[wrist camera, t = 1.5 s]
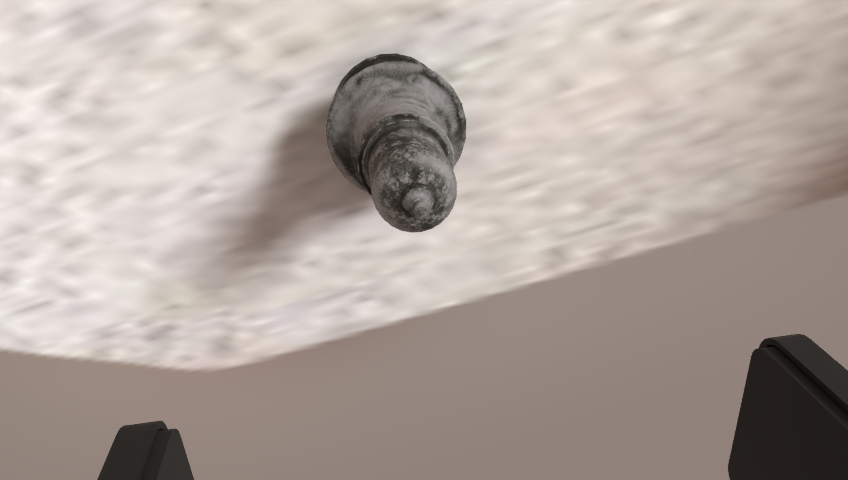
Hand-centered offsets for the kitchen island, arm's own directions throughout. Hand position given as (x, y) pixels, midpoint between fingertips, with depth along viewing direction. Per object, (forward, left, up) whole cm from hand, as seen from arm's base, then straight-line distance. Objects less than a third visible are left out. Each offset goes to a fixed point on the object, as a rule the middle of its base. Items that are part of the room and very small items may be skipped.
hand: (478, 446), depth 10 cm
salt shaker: (0, 0, -22) cm, 22 cm away
